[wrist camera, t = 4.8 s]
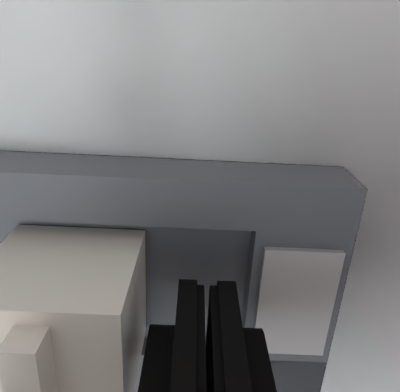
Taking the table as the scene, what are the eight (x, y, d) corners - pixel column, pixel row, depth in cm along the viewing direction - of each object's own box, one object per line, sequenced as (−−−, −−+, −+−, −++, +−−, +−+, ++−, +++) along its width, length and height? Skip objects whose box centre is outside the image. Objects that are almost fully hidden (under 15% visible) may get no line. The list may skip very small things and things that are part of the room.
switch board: (343, 166, 13) (370, 192, 11) (280, 475, 19) (290, 528, 17) (-272, 137, 12) (-365, 157, 10) (-130, 461, 18) (-171, 513, 16)
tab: (145, 230, 12) (112, 342, 8) (146, 329, 14) (119, 470, 9) (18, 224, 12) (-89, 334, 8) (33, 324, 14) (-48, 464, 9)
